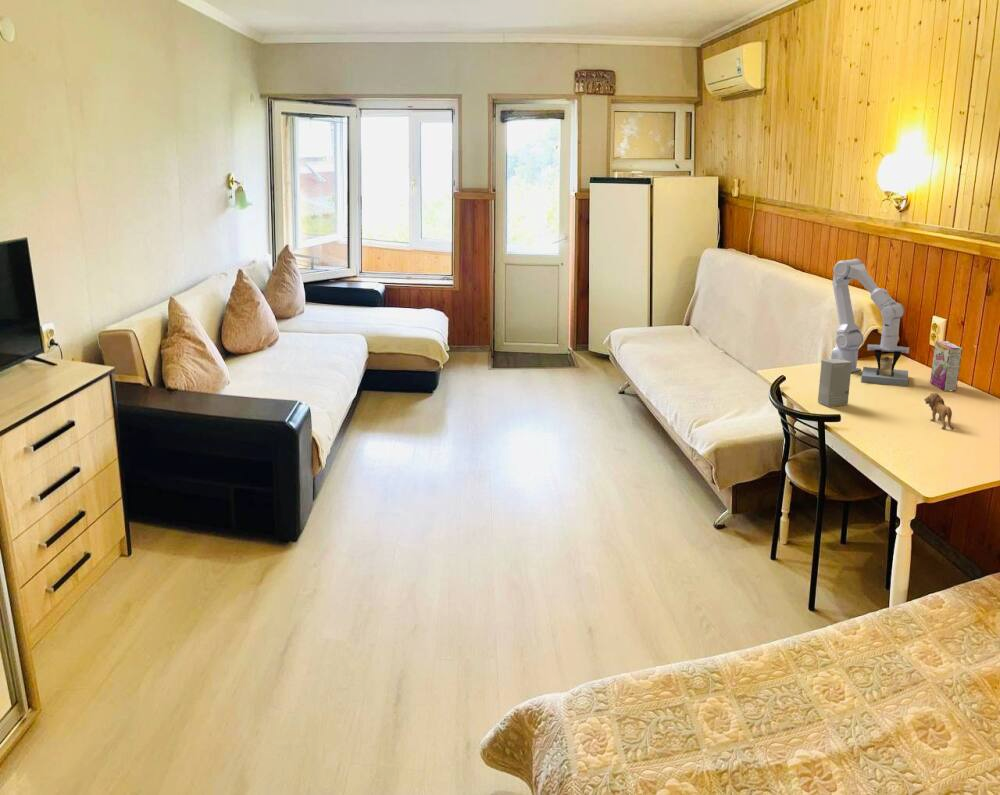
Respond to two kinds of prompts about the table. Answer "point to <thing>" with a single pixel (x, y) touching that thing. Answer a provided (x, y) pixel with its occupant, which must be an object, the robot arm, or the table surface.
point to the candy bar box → (946, 365)
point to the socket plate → (885, 377)
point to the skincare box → (834, 382)
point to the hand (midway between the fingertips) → (885, 369)
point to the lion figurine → (939, 409)
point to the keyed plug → (885, 366)
